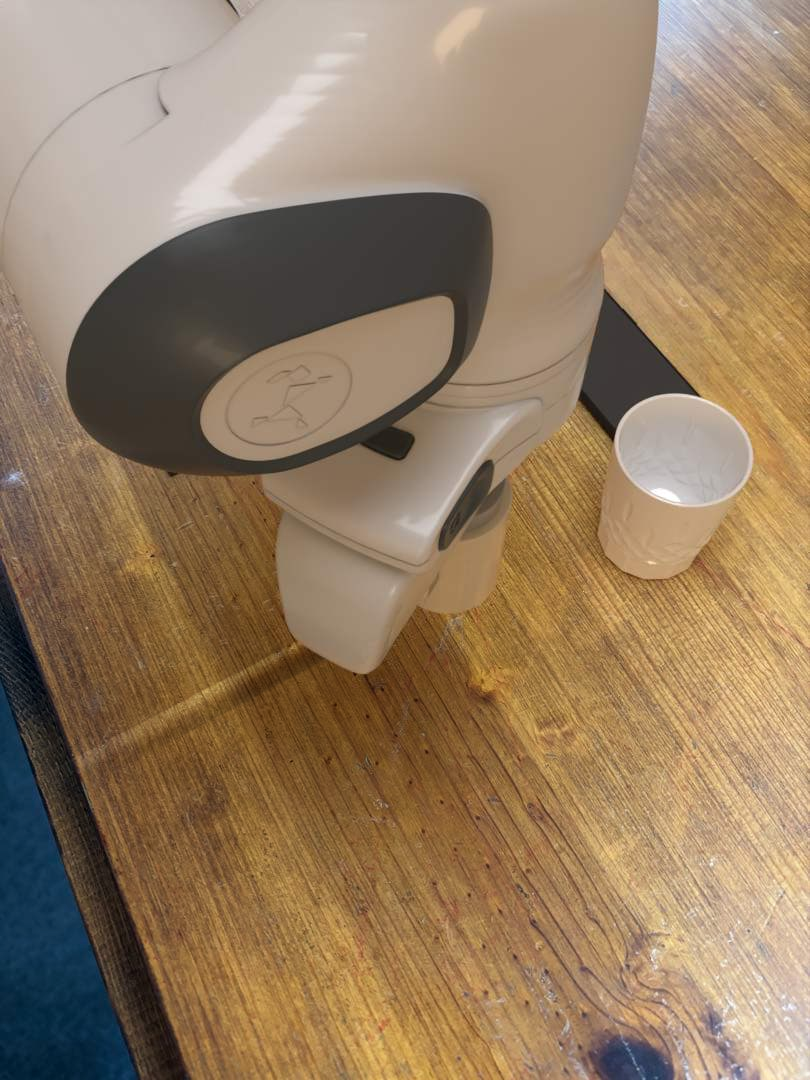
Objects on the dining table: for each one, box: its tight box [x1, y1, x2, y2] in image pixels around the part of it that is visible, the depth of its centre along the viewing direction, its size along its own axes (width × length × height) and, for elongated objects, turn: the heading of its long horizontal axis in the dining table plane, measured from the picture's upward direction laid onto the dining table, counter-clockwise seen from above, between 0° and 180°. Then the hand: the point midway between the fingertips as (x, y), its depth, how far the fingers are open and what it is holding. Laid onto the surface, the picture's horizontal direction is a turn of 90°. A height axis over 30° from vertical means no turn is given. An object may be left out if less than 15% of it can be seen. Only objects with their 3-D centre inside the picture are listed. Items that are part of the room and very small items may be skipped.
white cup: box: [596, 394, 754, 580], centre depth 65 cm, size 8×8×10 cm
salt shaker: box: [418, 475, 514, 615], centre depth 49 cm, size 5×5×8 cm
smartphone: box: [578, 287, 703, 440], centre depth 76 cm, size 7×1×15 cm
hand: (447, 535), depth 50 cm, fingers closed on salt shaker, 5 cm apart
